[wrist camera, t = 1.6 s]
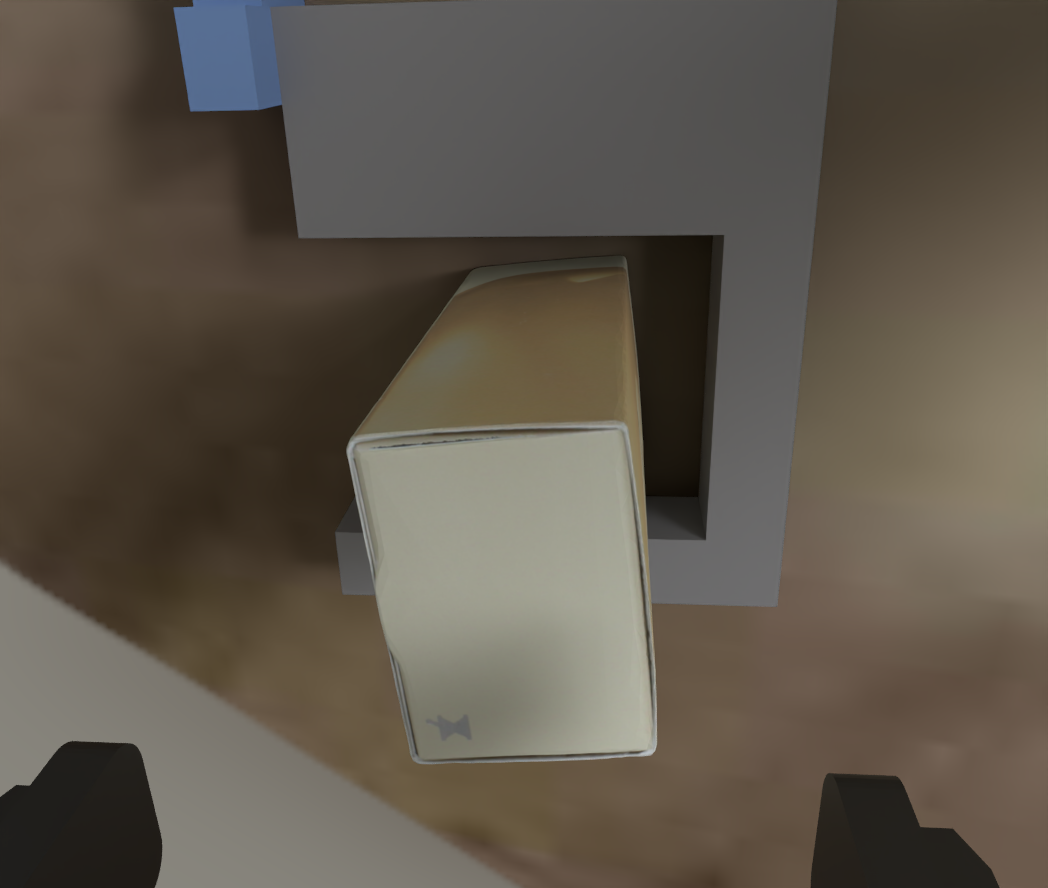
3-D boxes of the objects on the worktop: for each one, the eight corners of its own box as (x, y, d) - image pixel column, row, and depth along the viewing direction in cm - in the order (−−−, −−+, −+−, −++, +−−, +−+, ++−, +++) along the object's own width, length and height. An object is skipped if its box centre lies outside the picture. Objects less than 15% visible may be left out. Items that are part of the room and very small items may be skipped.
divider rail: (869, -605, 17) (936, -775, 14) (763, 558, 27) (786, 639, 24) (170, -542, 19) (62, -682, 15) (316, 548, 29) (272, 623, 25)
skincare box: (645, 464, 27) (666, 777, 15) (495, 474, 27) (410, 785, 16) (628, 238, 24) (637, 420, 13) (463, 256, 25) (334, 443, 13)
